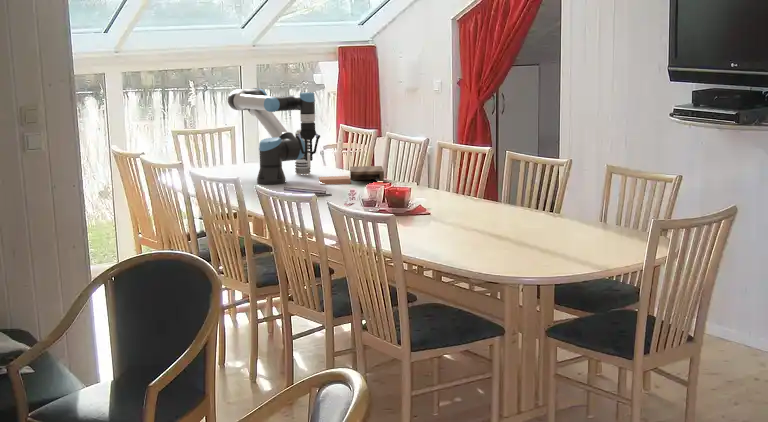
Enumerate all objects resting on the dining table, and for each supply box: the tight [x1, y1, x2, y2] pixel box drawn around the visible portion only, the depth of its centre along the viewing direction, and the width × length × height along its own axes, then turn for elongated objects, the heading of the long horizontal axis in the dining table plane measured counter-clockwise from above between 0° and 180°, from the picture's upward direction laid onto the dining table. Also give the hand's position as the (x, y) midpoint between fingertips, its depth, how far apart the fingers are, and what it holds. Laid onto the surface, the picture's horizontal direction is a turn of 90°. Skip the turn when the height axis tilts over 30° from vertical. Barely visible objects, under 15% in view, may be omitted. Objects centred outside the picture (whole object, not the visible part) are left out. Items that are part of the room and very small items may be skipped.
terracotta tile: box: [318, 175, 352, 185], centre depth 505 cm, size 16×11×3 cm
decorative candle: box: [294, 129, 312, 176], centre depth 533 cm, size 9×9×25 cm
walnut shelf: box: [349, 165, 385, 182], centre depth 505 cm, size 17×20×7 cm
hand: (309, 166), depth 502 cm, fingers closed
